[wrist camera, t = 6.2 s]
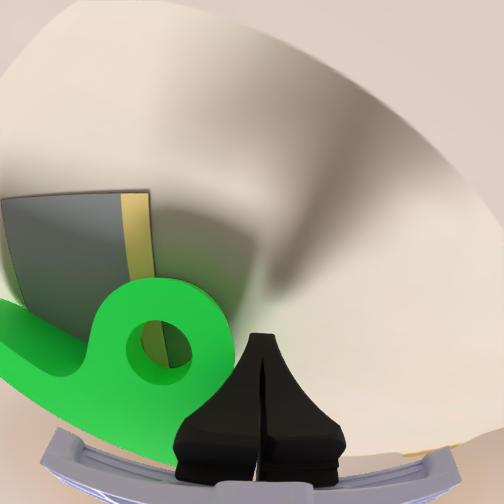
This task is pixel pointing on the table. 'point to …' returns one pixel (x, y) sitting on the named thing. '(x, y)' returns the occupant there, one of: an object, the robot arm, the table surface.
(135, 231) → the mat
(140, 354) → the bracket
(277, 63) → the table surface
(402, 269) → the table surface
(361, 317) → the table surface
